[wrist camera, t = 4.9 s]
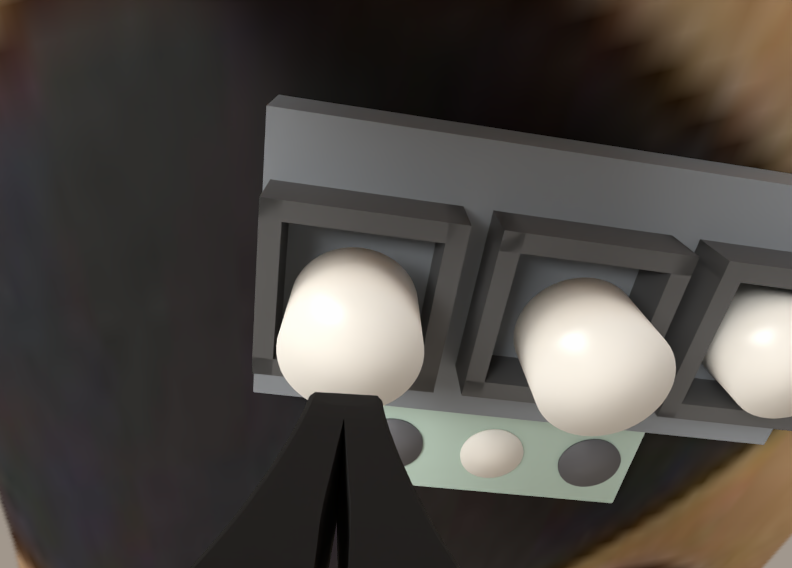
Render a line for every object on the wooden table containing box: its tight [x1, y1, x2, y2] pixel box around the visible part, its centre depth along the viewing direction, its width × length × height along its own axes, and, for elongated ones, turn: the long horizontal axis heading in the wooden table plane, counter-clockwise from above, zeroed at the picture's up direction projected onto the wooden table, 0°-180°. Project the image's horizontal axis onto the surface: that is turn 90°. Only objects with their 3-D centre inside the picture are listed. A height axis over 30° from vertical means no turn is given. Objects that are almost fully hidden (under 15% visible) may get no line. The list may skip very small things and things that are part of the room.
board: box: [252, 95, 792, 445], centre depth 18 cm, size 19×10×4 cm, turn 81°
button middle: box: [513, 277, 676, 436], centre depth 15 cm, size 4×4×2 cm
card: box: [383, 406, 645, 503], centre depth 23 cm, size 12×4×1 cm, turn 81°
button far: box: [701, 283, 792, 419], centre depth 17 cm, size 4×4×2 cm
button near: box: [276, 247, 424, 406], centre depth 14 cm, size 4×4×2 cm
